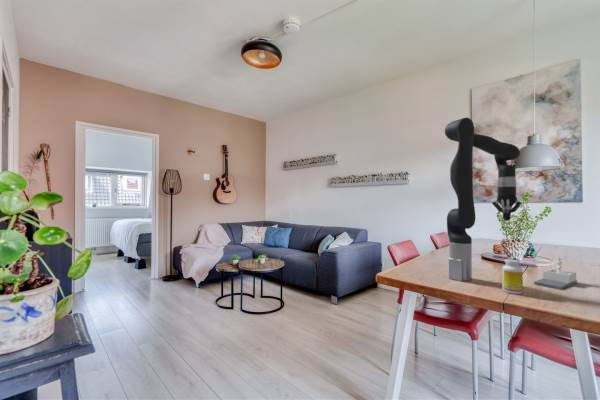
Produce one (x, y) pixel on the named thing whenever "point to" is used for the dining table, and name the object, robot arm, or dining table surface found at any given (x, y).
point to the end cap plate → (557, 279)
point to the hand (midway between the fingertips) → (506, 220)
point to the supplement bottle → (512, 277)
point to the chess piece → (559, 265)
